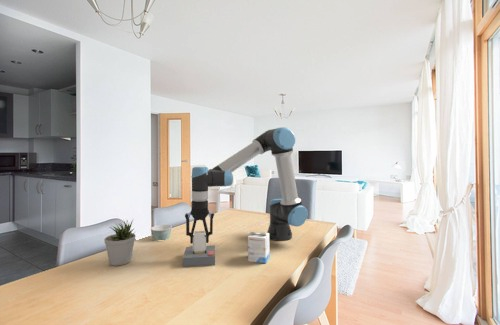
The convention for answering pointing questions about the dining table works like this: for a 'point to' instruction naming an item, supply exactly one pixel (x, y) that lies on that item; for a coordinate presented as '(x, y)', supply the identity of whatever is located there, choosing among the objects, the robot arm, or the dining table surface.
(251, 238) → the ink box
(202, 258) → the socket
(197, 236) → the plug
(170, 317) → the dining table surface
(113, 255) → the potted plant
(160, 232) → the food container
